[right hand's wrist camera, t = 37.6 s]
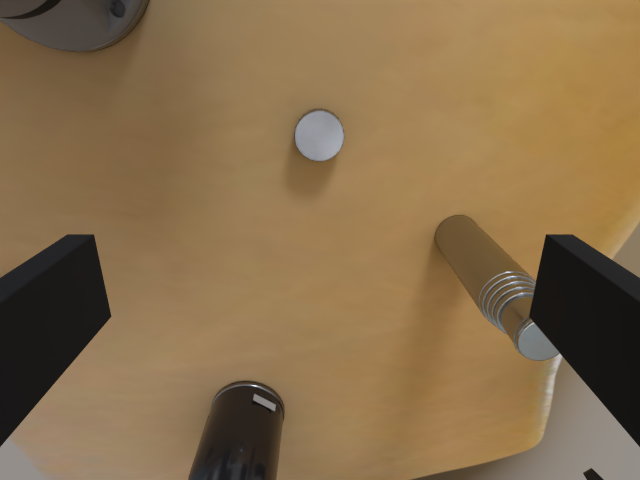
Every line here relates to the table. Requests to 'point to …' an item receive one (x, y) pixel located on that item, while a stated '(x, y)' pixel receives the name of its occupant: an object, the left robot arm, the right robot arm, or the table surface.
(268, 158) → the table surface
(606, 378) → the right robot arm
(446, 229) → the bottle
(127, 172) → the table surface
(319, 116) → the cap
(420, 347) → the table surface
